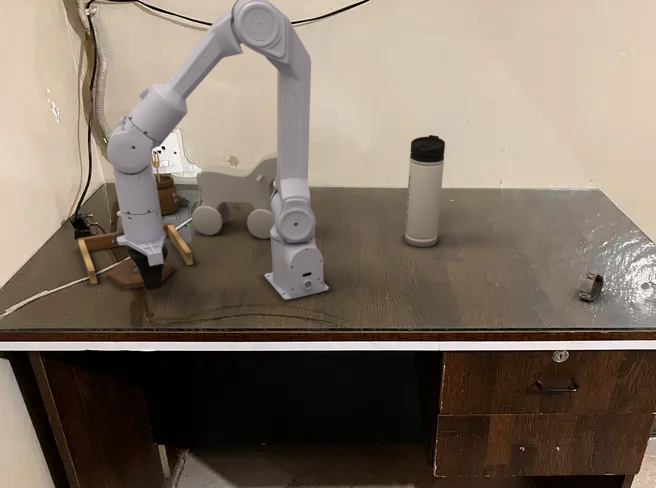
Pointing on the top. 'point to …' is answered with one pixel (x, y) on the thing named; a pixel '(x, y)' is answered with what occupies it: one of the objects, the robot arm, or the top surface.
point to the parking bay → (106, 242)
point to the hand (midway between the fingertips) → (153, 287)
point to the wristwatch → (591, 286)
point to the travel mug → (424, 190)
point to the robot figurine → (130, 266)
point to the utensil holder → (165, 190)
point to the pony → (236, 196)
